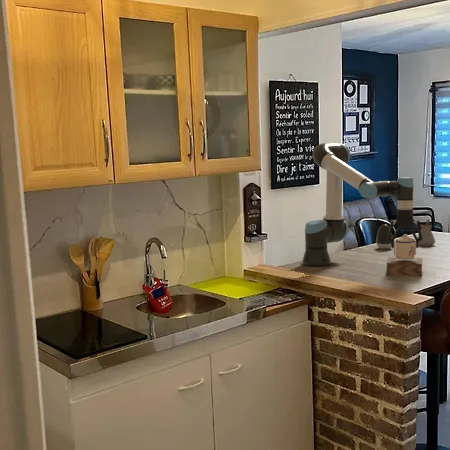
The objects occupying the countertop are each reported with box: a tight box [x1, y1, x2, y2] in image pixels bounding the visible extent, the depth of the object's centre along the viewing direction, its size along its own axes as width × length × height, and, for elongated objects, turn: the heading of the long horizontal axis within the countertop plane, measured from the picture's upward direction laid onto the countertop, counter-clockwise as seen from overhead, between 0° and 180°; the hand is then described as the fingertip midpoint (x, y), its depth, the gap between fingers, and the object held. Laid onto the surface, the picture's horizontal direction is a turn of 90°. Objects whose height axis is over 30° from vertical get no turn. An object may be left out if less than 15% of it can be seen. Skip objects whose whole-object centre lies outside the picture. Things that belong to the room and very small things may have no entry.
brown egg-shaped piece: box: [375, 223, 393, 250], centre depth 361 cm, size 10×10×15 cm
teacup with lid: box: [395, 233, 416, 259], centre depth 287 cm, size 12×9×12 cm
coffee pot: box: [417, 219, 436, 247], centre depth 373 cm, size 21×12×15 cm, turn 156°
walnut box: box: [386, 256, 423, 277], centre depth 289 cm, size 16×16×6 cm
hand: (404, 254), depth 288 cm, fingers closed on teacup with lid, 9 cm apart
